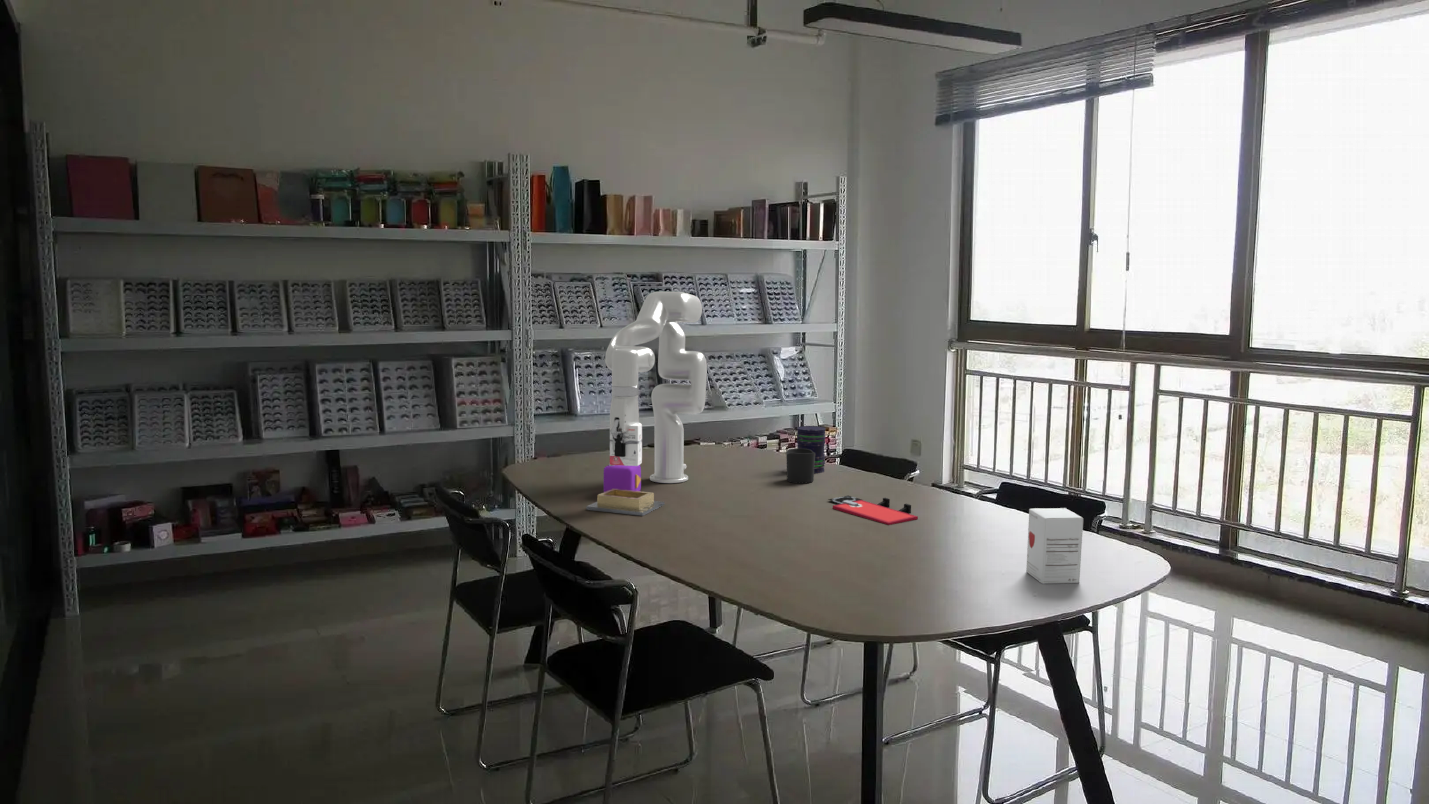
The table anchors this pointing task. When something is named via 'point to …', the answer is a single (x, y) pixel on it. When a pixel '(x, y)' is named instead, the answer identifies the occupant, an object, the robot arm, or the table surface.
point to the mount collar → (625, 502)
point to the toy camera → (622, 477)
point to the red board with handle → (874, 510)
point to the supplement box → (1054, 545)
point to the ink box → (629, 447)
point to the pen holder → (800, 465)
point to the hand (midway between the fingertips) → (625, 454)
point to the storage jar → (813, 443)
